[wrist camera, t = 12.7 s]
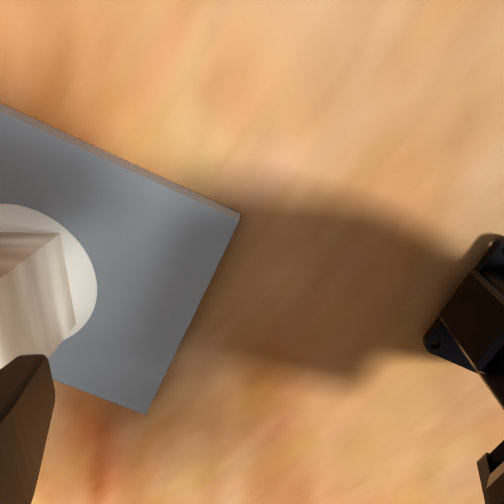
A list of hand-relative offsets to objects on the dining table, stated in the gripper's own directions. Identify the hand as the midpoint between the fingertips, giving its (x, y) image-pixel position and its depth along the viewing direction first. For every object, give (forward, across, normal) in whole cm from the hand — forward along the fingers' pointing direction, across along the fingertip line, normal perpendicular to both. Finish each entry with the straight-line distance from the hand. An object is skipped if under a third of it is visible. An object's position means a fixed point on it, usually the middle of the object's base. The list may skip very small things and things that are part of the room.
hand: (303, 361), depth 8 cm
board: (+13, +8, +5) cm, 16 cm away
